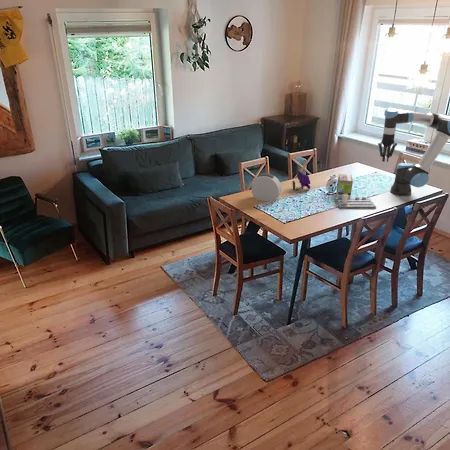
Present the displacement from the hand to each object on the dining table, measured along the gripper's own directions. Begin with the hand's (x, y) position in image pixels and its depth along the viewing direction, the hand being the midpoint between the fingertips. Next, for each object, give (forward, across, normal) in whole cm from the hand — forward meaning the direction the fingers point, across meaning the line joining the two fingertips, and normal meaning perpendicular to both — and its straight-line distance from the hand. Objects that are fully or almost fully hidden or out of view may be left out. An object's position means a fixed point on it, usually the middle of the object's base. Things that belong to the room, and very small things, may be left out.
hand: (384, 166), depth 299 cm
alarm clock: (+26, +83, -7) cm, 87 cm away
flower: (+27, +55, -26) cm, 66 cm away
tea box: (+28, +23, -14) cm, 39 cm away
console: (+28, +19, +4) cm, 34 cm away
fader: (+26, +27, +4) cm, 37 cm away
